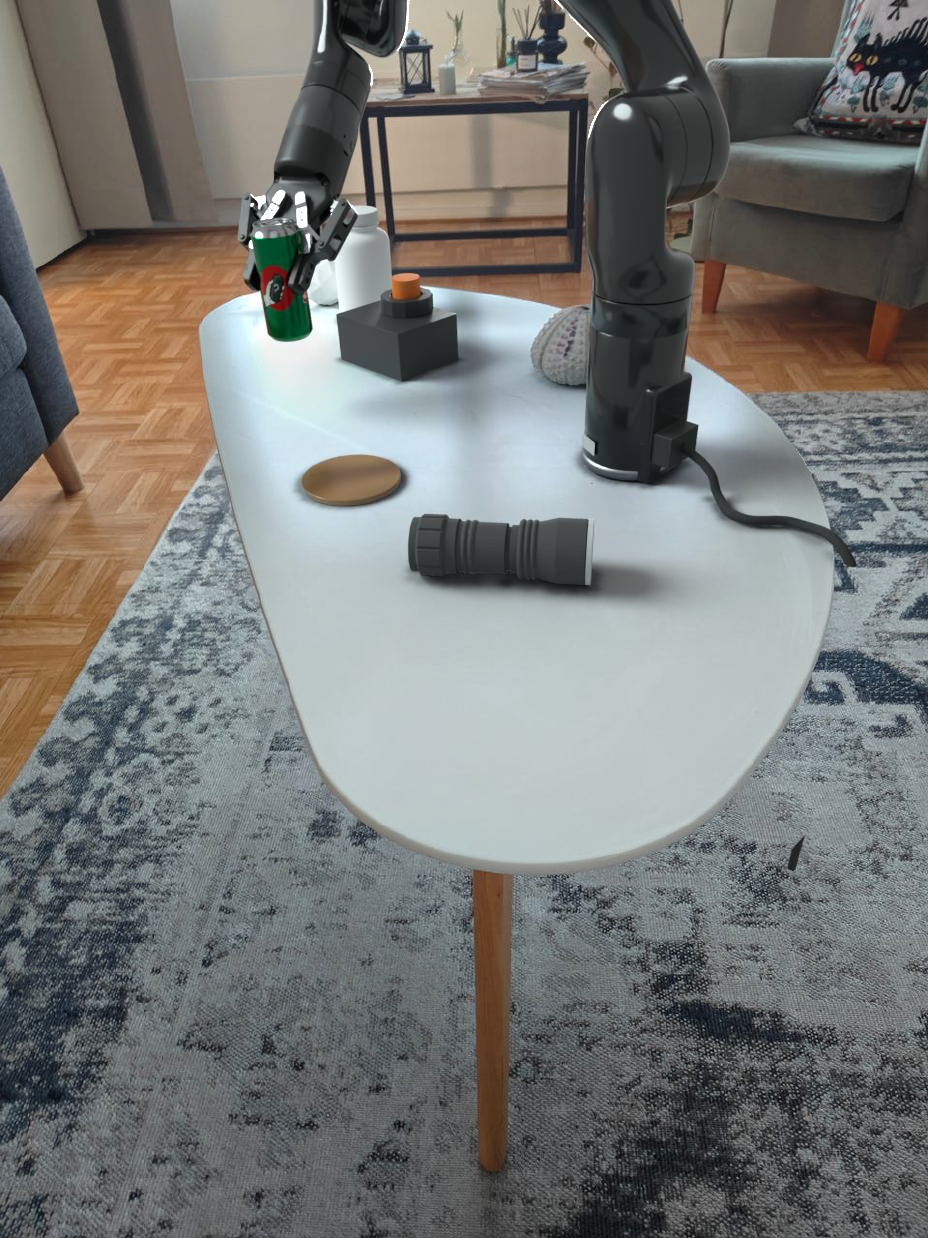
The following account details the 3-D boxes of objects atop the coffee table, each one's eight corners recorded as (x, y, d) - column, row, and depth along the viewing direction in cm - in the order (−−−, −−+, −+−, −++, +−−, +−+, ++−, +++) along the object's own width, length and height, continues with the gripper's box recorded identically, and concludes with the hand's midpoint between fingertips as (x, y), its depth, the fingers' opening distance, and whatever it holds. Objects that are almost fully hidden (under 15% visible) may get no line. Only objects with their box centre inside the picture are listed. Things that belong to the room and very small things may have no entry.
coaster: (421, 479, 91) (421, 474, 90) (344, 516, 85) (343, 511, 85) (358, 450, 97) (357, 445, 96) (282, 483, 91) (281, 478, 91)
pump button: (426, 296, 115) (425, 276, 113) (405, 303, 113) (404, 282, 111) (407, 291, 117) (406, 271, 115) (386, 298, 115) (385, 277, 113)
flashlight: (405, 587, 75) (400, 531, 72) (417, 553, 80) (413, 499, 76) (589, 597, 73) (593, 541, 70) (592, 562, 77) (595, 507, 74)
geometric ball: (331, 315, 142) (345, 266, 142) (348, 310, 135) (363, 257, 135) (286, 297, 139) (300, 246, 138) (301, 290, 132) (316, 236, 131)
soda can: (320, 337, 100) (304, 222, 93) (277, 346, 98) (258, 230, 91) (303, 325, 104) (287, 214, 97) (262, 334, 102) (242, 221, 95)
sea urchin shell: (657, 381, 109) (663, 314, 105) (557, 400, 106) (559, 332, 101) (604, 346, 120) (608, 285, 115) (511, 363, 116) (511, 300, 111)
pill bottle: (392, 327, 129) (384, 215, 120) (337, 328, 129) (324, 216, 120) (397, 309, 135) (389, 201, 126) (344, 311, 135) (332, 203, 126)
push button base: (459, 359, 118) (457, 296, 113) (401, 382, 112) (396, 317, 107) (399, 339, 125) (394, 279, 120) (341, 359, 119) (334, 298, 114)
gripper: (245, 120, 97) (198, 265, 96) (359, 123, 92) (312, 276, 90) (281, 165, 104) (238, 301, 103) (389, 170, 99) (346, 313, 97)
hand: (273, 288), depth 96 cm, fingers closed on soda can, 5 cm apart
